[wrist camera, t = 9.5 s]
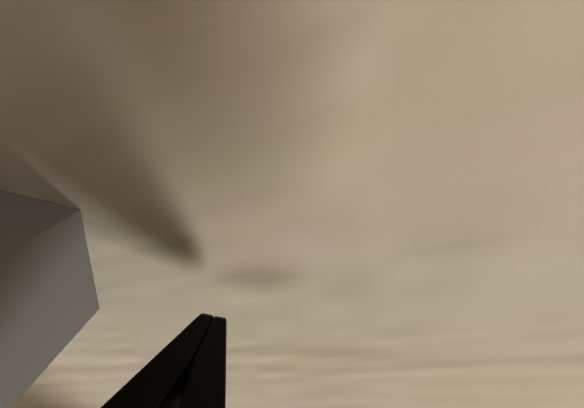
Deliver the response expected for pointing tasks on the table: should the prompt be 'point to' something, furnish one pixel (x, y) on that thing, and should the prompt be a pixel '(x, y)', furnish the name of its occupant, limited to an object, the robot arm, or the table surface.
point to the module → (39, 288)
